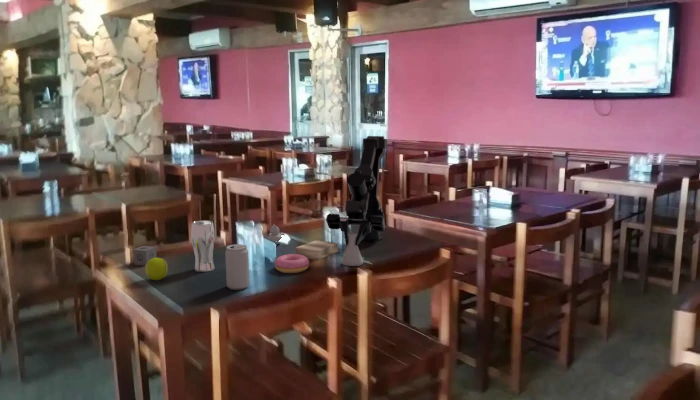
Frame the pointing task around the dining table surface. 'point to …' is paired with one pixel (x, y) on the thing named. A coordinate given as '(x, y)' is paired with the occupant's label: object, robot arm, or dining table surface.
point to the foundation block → (317, 249)
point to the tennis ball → (156, 268)
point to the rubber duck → (275, 234)
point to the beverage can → (237, 266)
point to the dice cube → (144, 254)
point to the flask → (352, 252)
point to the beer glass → (203, 245)
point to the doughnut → (291, 263)
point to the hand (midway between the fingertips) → (351, 244)
